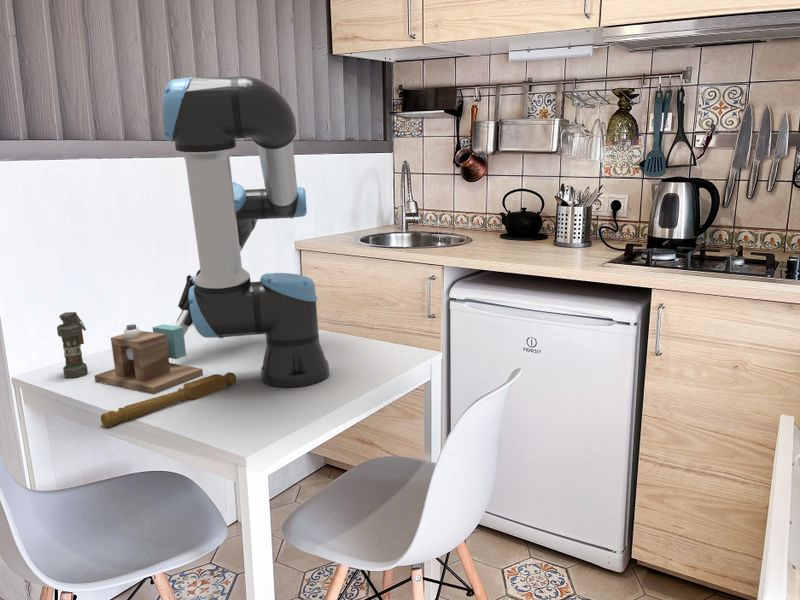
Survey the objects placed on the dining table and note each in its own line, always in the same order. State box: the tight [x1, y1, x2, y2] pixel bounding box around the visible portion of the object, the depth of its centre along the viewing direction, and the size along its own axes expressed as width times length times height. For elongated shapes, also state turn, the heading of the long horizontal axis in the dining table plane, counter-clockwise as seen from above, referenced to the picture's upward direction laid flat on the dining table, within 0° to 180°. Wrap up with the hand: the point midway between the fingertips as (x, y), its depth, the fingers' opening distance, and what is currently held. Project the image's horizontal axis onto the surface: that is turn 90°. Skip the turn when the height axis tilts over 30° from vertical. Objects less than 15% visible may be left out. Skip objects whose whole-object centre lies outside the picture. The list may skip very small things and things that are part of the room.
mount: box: [94, 330, 204, 395], centre depth 154 cm, size 20×14×10 cm
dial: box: [123, 323, 141, 340], centre depth 150 cm, size 3×3×3 cm
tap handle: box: [100, 371, 237, 429], centre depth 139 cm, size 3×3×30 cm
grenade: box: [56, 311, 88, 379], centre depth 159 cm, size 6×6×15 cm
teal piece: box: [126, 324, 187, 360], centre depth 156 cm, size 7×12×7 cm, turn 149°
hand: (176, 335), depth 162 cm, fingers closed
